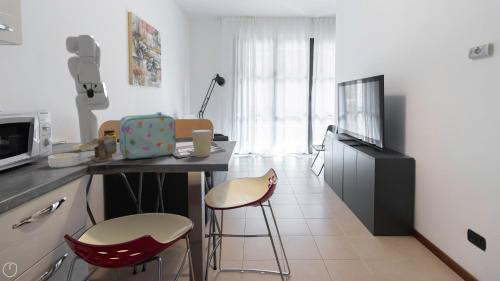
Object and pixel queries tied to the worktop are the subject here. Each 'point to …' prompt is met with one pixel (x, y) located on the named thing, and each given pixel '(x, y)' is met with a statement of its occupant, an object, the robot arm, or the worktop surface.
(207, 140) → the coffee cup
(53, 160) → the bowl
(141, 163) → the worktop surface
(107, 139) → the lever
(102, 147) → the stand
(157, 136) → the lunch box
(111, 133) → the condiment
